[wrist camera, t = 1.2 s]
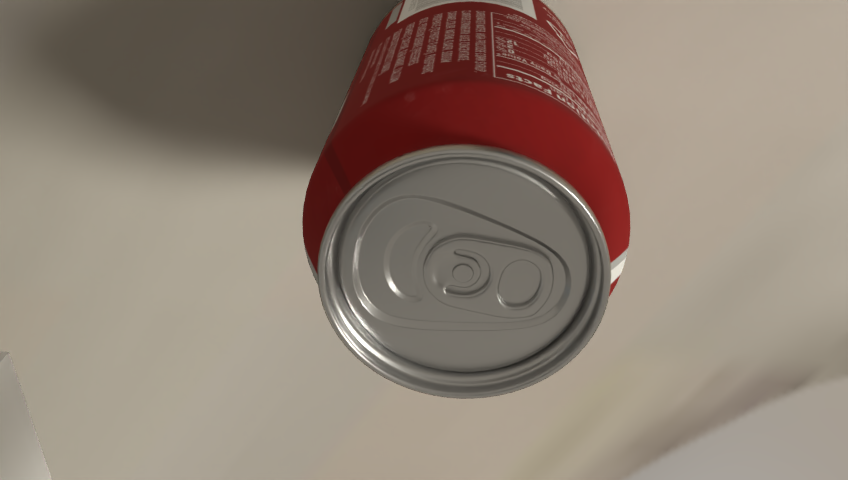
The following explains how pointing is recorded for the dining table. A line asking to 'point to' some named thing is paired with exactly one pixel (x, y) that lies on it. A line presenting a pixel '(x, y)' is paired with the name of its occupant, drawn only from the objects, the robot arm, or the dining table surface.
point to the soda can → (467, 201)
